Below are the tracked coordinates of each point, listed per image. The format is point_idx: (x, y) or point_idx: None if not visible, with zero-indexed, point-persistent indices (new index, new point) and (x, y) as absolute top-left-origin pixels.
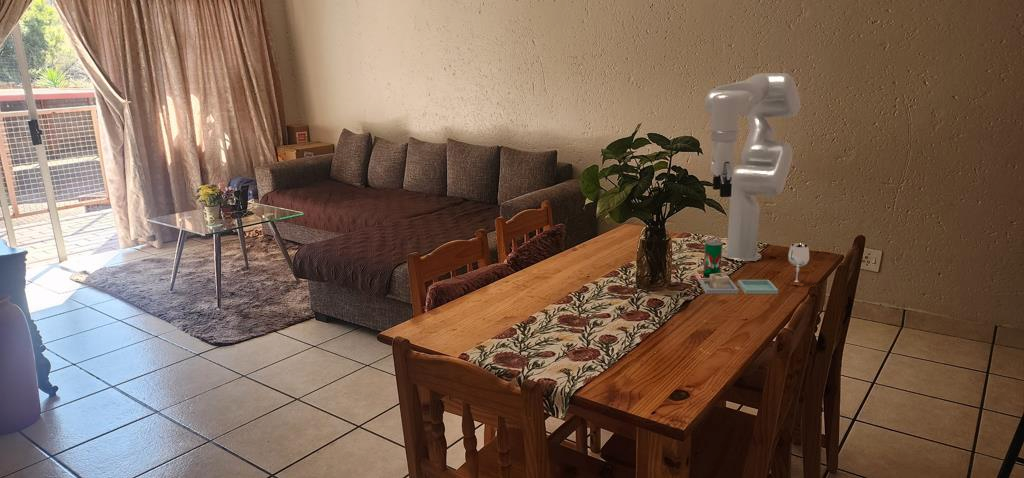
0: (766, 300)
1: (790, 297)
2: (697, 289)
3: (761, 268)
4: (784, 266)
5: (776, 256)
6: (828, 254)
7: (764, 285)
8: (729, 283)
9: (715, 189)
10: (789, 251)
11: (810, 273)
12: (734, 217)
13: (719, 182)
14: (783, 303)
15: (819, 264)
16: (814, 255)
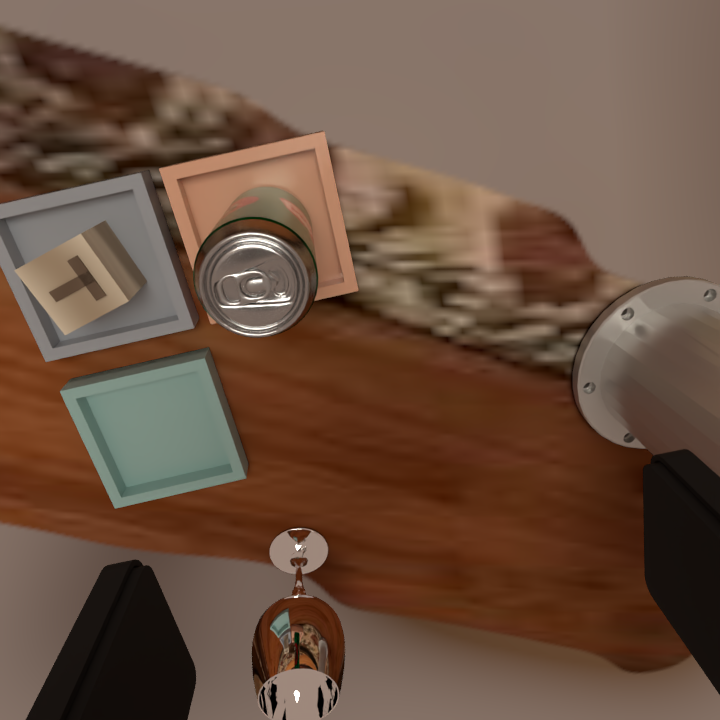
0: (45, 454)
1: (122, 530)
2: (79, 157)
3: (491, 441)
4: (529, 519)
5: None
6: None
7: (216, 454)
8: (172, 318)
9: (650, 482)
10: (287, 636)
11: (446, 594)
12: None
13: (716, 628)
14: (36, 508)
15: (565, 621)
16: None
